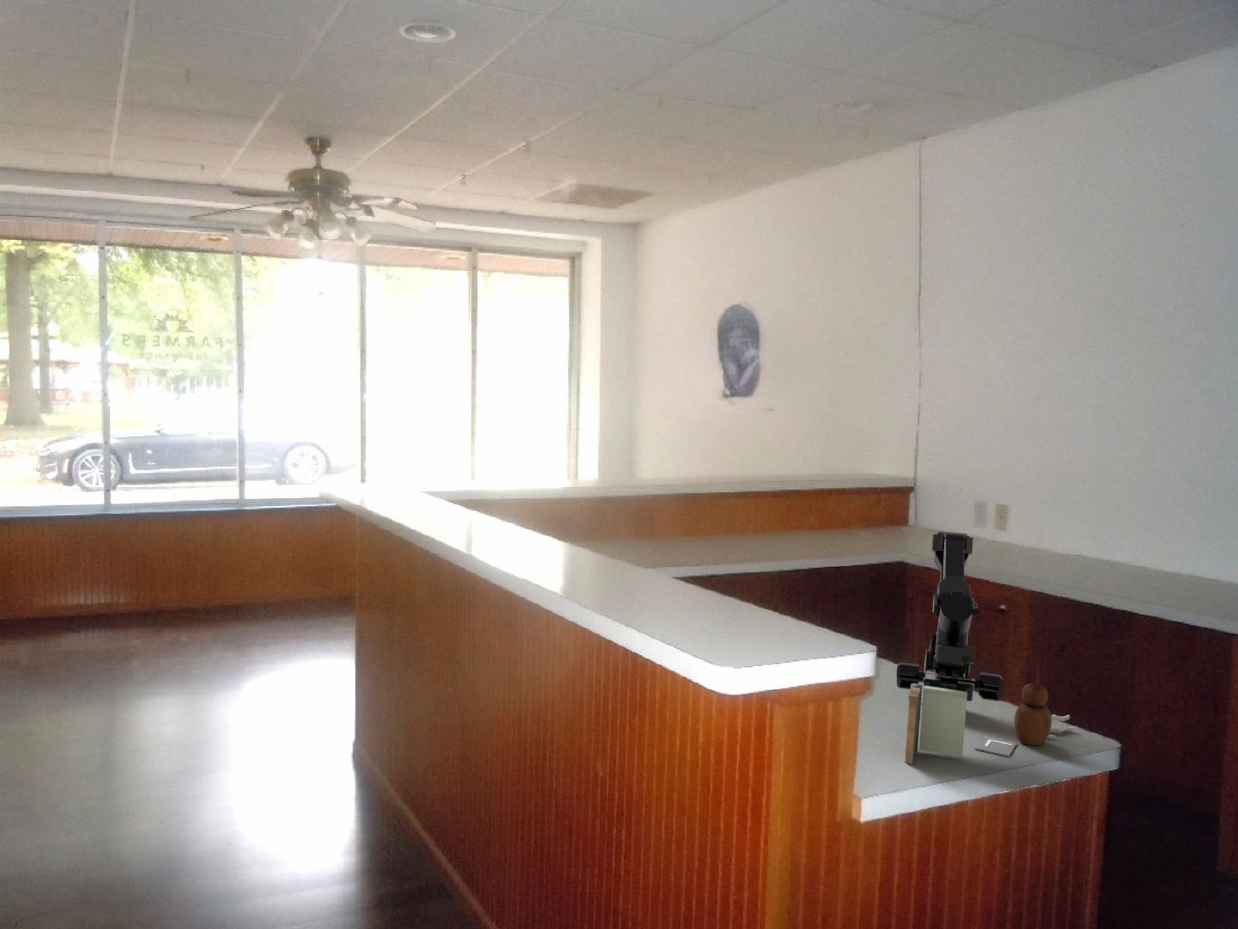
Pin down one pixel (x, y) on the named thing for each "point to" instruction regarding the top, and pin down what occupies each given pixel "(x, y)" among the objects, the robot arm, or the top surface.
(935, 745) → the pale green rectangular panel
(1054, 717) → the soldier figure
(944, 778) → the top surface
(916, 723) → the brown upright slab
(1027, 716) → the wooden figurine
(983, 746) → the card
